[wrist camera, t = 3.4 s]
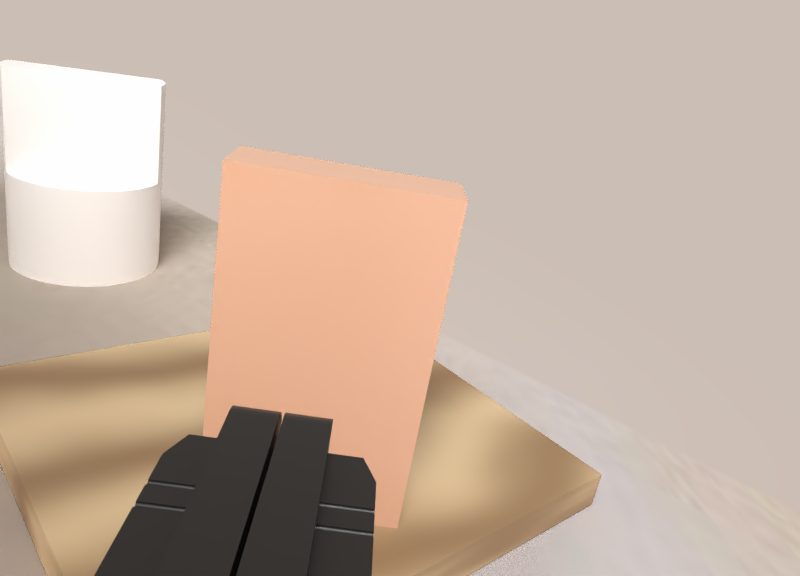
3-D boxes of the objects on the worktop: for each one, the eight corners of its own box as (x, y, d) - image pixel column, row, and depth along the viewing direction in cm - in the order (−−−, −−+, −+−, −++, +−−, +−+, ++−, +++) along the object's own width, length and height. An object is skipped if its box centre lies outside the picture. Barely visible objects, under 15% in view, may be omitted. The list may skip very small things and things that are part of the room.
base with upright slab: (157, 239, 50) (163, 74, 45) (160, 288, 42) (168, 94, 38) (19, 233, 46) (12, 53, 42) (-4, 285, 39) (-16, 72, 34)
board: (-25, 403, 28) (-27, 370, 28) (351, 329, 41) (355, 305, 41) (128, 771, 16) (129, 726, 16) (591, 504, 29) (601, 474, 29)
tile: (397, 528, 24) (467, 200, 19) (197, 501, 23) (223, 159, 19) (397, 482, 26) (460, 180, 21) (216, 456, 25) (242, 143, 21)
